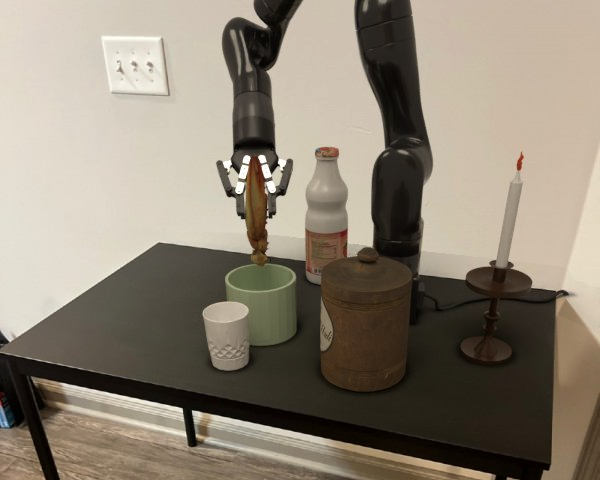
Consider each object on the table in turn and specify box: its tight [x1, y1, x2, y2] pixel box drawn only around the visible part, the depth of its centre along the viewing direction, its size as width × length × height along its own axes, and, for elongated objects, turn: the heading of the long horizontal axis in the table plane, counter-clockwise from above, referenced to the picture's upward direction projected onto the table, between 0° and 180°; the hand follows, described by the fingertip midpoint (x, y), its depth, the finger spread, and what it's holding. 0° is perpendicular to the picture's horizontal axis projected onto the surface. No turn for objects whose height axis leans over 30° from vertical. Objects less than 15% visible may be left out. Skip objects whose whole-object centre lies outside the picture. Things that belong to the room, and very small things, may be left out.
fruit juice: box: [304, 146, 349, 286], centre depth 131 cm, size 9×9×28 cm
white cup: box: [202, 301, 250, 372], centre depth 107 cm, size 8×8×10 cm
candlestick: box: [459, 150, 533, 367], centre depth 101 cm, size 11×11×35 cm
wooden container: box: [319, 246, 412, 393], centre depth 100 cm, size 15×15×22 cm
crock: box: [224, 263, 298, 347], centre depth 116 cm, size 13×13×11 cm
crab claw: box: [244, 155, 272, 266], centre depth 106 cm, size 7×5×20 cm
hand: (256, 216), depth 105 cm, fingers closed on crab claw, 4 cm apart
